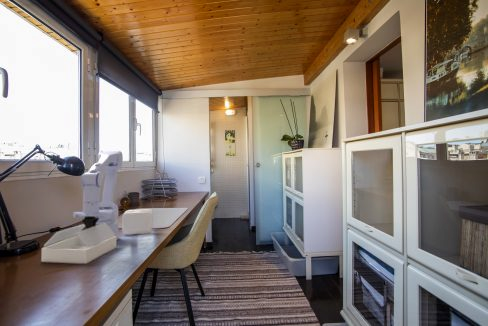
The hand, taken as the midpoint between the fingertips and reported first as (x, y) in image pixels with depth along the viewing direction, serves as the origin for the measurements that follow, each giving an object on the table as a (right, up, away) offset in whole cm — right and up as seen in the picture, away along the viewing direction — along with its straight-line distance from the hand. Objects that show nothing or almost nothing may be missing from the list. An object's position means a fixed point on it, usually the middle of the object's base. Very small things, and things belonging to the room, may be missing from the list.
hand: (90, 235), depth 100 cm
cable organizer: (+5, -8, +34) cm, 35 cm away
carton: (-4, -8, 0) cm, 9 cm away
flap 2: (+3, 0, 0) cm, 3 cm away
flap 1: (-10, 0, +1) cm, 10 cm away
